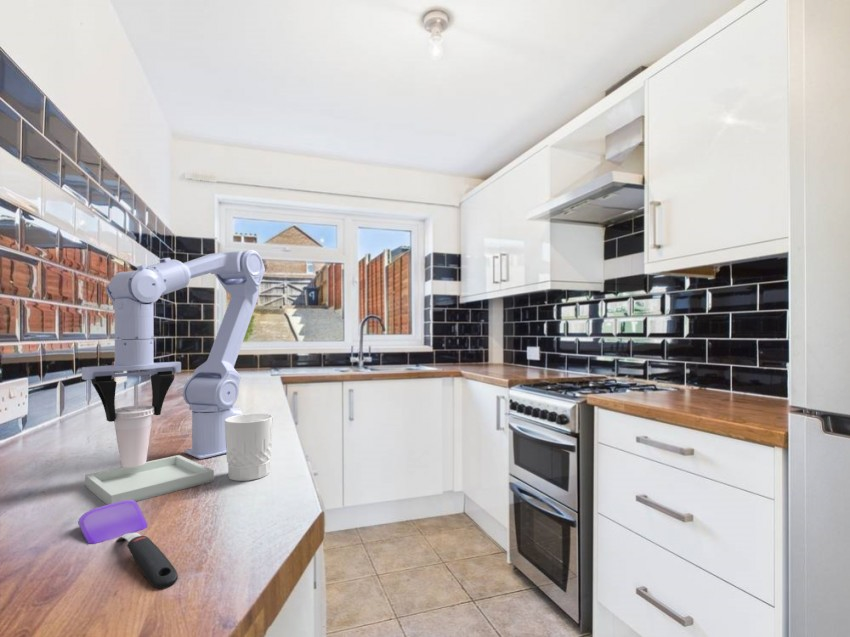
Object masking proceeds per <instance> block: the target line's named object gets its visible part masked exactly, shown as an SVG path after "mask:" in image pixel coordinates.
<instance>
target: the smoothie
mask: <svg viewBox="0 0 850 637" xmlns="http://www.w3.org/2000/svg"><path fill="white" fill-rule="evenodd" d="M133 393H134V394H133V397H134V399H133V401H134V402H133V405H129V406H123V407H119V408H118V407H117V408H115V421H113V422H114V423H113V424H114V430H115V436H116V443H117V448H118V455H119V461H120V467H124V468H131V467H137V466H141V465H143V464H145V463H146V462H147V459H148V450H149V443H150V438H151V437H150V436H151V428H152V423H153V422H152V421H153V420H152V419H153V415H154V413H155V412H154V407H153V406H152V405H145V404H144V405H143V404H142V405H139V385H138V383H136V384H133Z"/></svg>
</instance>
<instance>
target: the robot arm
mask: <svg viewBox="0 0 850 637" xmlns="http://www.w3.org/2000/svg"><path fill="white" fill-rule="evenodd" d="M158 260H159V263H155V264H151V265H148V266H147V265H146V264H141V265H138V266H137V267H136V268H137V269H136V270H129V271H118V272H117V273H116V274H114V275H113V276H112V277H111V279H110V281H109V283H108V285H106V286H105V291H106V294H107V296H108V298H109V299H110V300H111V302H112V310H113V311H114V364H112V365H111V364H110V365H109V364H108V365H98V366H86V367H85V366H83V367H81V379H82V380H84V381H86V380H91V381H90V382H91V384H92V386H93V387H94V389H95V391H96V393H97V395H98V397H99V398H100V401H101V403H102V406H103V409H104V414H105V418H106V419H105V420H106V421H108V422H109V423H110V422H114V421H115V409H116V406H115V404H116V403H115V402H116V401H115V398H116V389H117V383H118V382H117V381H115V379H114V378H121V377H123V378H124V377H133V376H146V375H147V376H148V375H149V376H150V382H151V395H152V396H151V400H152V401H151V406H153V407H154V412H155V413H154V414H153V415H154V416H161V415H162V414H161V413H162V408H163V405H164V402H165V399H166V395H167V394H168V391H169V389H170V387H171V385H172V384H173V382H174V381H175V374H178V373H182V362H181V361H166V362H165V361H163V362H161V361H160V362H154V359H155V358H154V355H155V354H154V349H155V348H154V343H155V342H154V332H155V331H154V314H155V313H154V303H156V302H158V300H159V299H160V297H161V296H165V295H168V294H170V293H174V292H176V291H178V290H181V289H184V288H186V287H187V286H188V285H189V284H190V282H191V281H190V280H191V279H193V278H197V277H201V276H205V275H208V274H211V275H214V276H215V278H216V279H217V281H219V283H220V284H221V286H222V288H223V289H224V290H225V292H226V293H228V294H229V296H230V300H229V302H228V304H227V307H226V310H225V313H224V315H223V318H222V320H221V324H220V326H219V328H218V331H217V334H216V336H215V339H214V340H213V344H212V346H211V349H210V353H209V355H208V358H207V359H206V361H205V362H203V363H201V364H200V365H199V366H198V367H196V368H194V372H193V374H192V375H191V377H190V378H189V379H188V380H187V381H186V382H185V384H184V386H183V389H182V390H183V391H182V397H183V399H184V402H185V403H186V404H187V405H188V406H189V411H191V448H187V449H184V451H183V452H184V454H187V455H190V456H191V457H194V458H197V459H199V460H201V459H206V458H210V457H217V456H220V455H224V454H226V439H225V419H226V418H229V417H232V416H237V415H244V413H243V412H242V410H241V408H240V407H238V406H236V405H235V403H236V402H237V400H238V397H239V394H240V391H239V390H240V382H241V378H242V377H241V375H240V374H239V372H238V371H237V370H236V369H235V365H236V363H237V362H236V361H238V360H237V359H238V356H239V353H240V351H241V348H242V345H243V341H244V340H245V336H246V335H247V334H246V333H247V331H248V327H249V325H250V323H251V319H252V317H253V314H254V310H255V308H256V305H257V303H258V301H259V300H258V299H259V293H260V286H261V283H262V280H263V277H264V274H265V271H266V268H265V265H264V262H263V259H262V256H261V255H260V253H258V252H257V251H256V250H254V249H247V250H241V251H240V250H239V251H227V252H213V253H209V254H206V255H203V256H201V257H196V258H195V259H190V260H189V261H185V262H182V261H180V260H178V259H171V257H164V258H159V259H158ZM131 371H137V372H131ZM138 371H139V372H138ZM174 373H175V374H174ZM234 405H235V406H234Z"/></svg>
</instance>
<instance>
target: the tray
mask: <svg viewBox="0 0 850 637" xmlns="http://www.w3.org/2000/svg"><path fill="white" fill-rule="evenodd" d="M214 474H215V471H214V469H212V468H210V467H208V466H205V465H203V464H200V463H198V462H196V461H194V460H191V459H189V458H187V457H184V456H183V455H180V454H178V455H177V454H176V455H173V456H172V455H171V456H167V457H164V458H158V459H153V460H149V461H146V463H145V464H143V465H141V466H137V467H131V468H124V467H121V466H120V467H116V468H110V469H106V470H100V471H96V472H92V473H87V474H85V475H84V486H85V487H86V489H88V490H89V491H90V492H92V493H93V495H95V496H96V497H97V498H99V499H100V500H101V501H102V502H103V503H105V505H109V504H113V503H116V502H121V501H125V500H134V501H136V502H137V503H138V502H141V501H144V500H147V499H151V498H155V497H159V496H163V495H166V494H170V493H174V492H177V491H181V490H185V489H189V488H193V487H197V486H200V485H205V484H208V483H210V482H214V480H215V476H214Z"/></svg>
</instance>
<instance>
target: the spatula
mask: <svg viewBox="0 0 850 637" xmlns="http://www.w3.org/2000/svg"><path fill="white" fill-rule="evenodd" d="M77 524H78V527H79V528H80V530H81V534H82V535H83V537H84V540H85V542H86V543H87V545H96V544H100V543H104V542H107V541H110V540H113V539H116V538H117V539H116V542H119V541H122V540H125V541H127V542H128V543H127V544H126V545H127V546H126V547H127V548H128V550H129V552H130V554H131V555H132V557H133V559H134V561H135V563H136V564H137V566H138V567H139V569H140V570H141V572H142V573H143V575H144V576H145V578H146V580H147V581H148V582H149V583H150V584H151V585H152V587H154V588H157V589H166V588H169V587H171V586H173V585H174V584H175V583H176V582H177V581H178V578H179V574H178V572H177V570H176V569H175V567H174V566H173V564H172V563H171V562H170V560H169V559H168V557H167V556H166V555H165V554H164V552H163V551H161V549H160V548H159V547H158V546H157V545H156V544H155V543H154V542H153V541H152V540H151V538H150V537H148V536H146V535H142V534H140V533H138V532H140V531H143V530H145V529H147V528H148V524H147V521H146V518H145V517H144V514H143V512H142V510H141V508H140V506H139V504H138V501H137V502H136V501H134V500H125V501H121V502H116V503H113V504H109V505H107V504H105V505H103V506H99V507H95V508H93V509H90V510H88V511H86V512H84V513H83V514H82V515H81V516H80V517H79V519H78V520H77Z"/></svg>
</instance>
